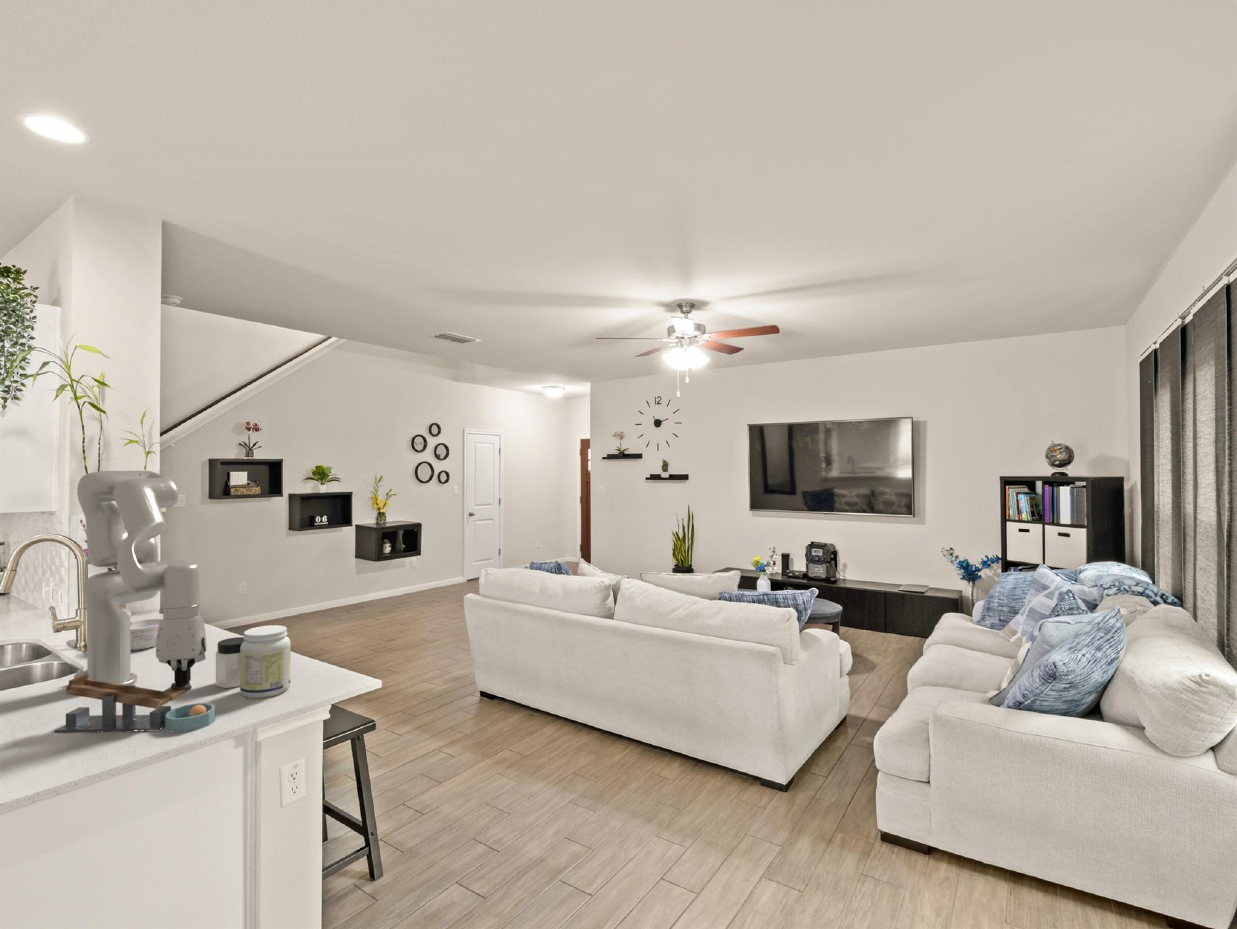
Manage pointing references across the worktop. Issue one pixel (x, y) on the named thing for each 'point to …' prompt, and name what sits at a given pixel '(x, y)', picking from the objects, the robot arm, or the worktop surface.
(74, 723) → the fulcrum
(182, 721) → the dish
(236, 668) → the jar
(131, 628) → the paper bowls
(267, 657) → the supplement tub
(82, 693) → the lever
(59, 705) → the worktop surface
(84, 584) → the robot arm
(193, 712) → the ball
